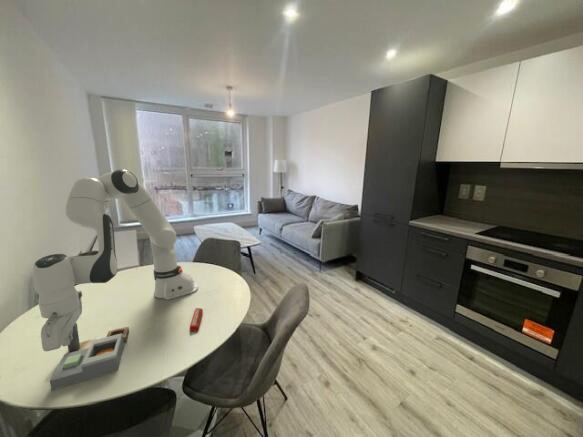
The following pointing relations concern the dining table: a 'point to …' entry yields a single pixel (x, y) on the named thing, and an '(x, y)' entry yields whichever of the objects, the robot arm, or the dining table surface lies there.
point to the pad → (84, 345)
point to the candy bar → (196, 319)
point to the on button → (73, 361)
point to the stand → (118, 331)
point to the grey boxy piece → (90, 362)
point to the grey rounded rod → (74, 340)
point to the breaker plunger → (105, 351)
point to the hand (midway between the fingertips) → (67, 343)
